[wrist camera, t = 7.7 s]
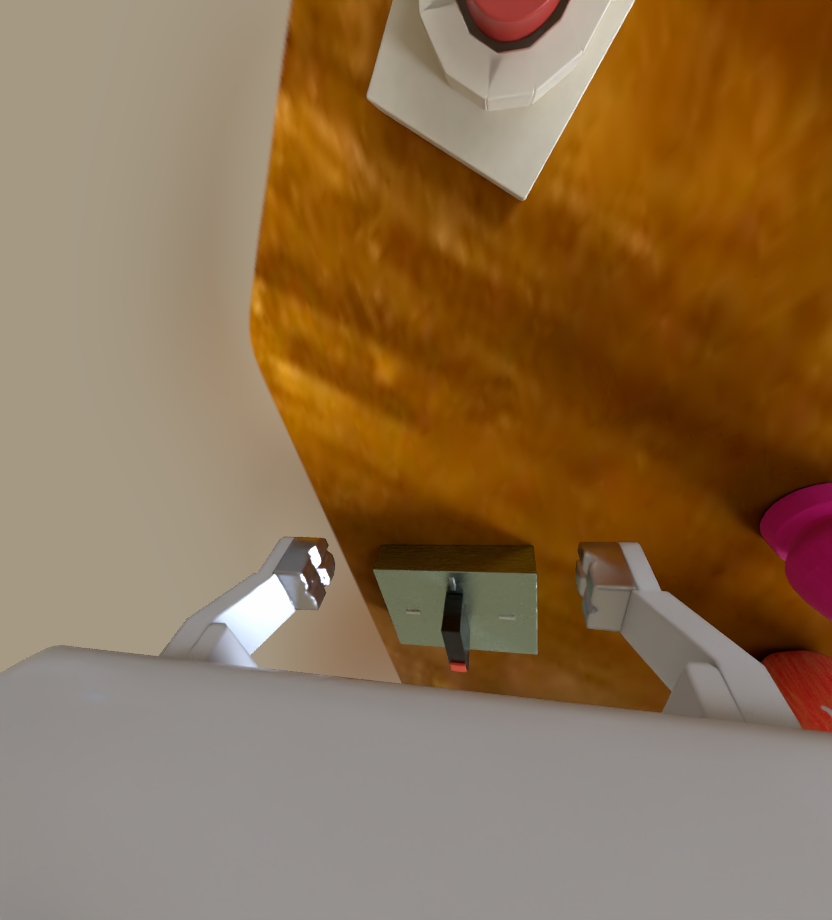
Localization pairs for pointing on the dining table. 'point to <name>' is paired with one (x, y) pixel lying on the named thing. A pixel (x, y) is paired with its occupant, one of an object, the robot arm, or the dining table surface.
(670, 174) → the dining table surface
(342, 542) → the dining table surface
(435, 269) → the dining table surface
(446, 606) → the black switch lever
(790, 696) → the apple
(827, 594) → the pepper mill
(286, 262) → the dining table surface
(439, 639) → the panel
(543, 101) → the button block
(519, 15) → the button
